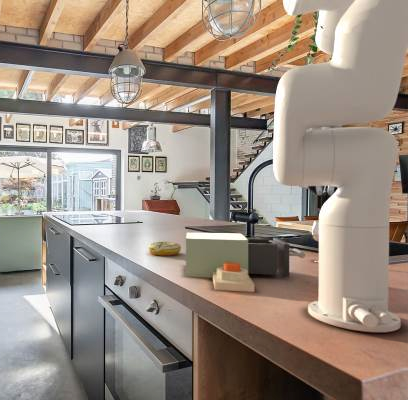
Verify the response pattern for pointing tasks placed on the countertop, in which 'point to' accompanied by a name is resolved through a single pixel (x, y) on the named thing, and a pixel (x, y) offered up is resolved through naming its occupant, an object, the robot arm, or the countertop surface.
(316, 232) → the wineglass
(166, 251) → the decorated donut
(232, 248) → the green drawer cabinet
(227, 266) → the button
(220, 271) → the block
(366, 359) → the countertop surface
